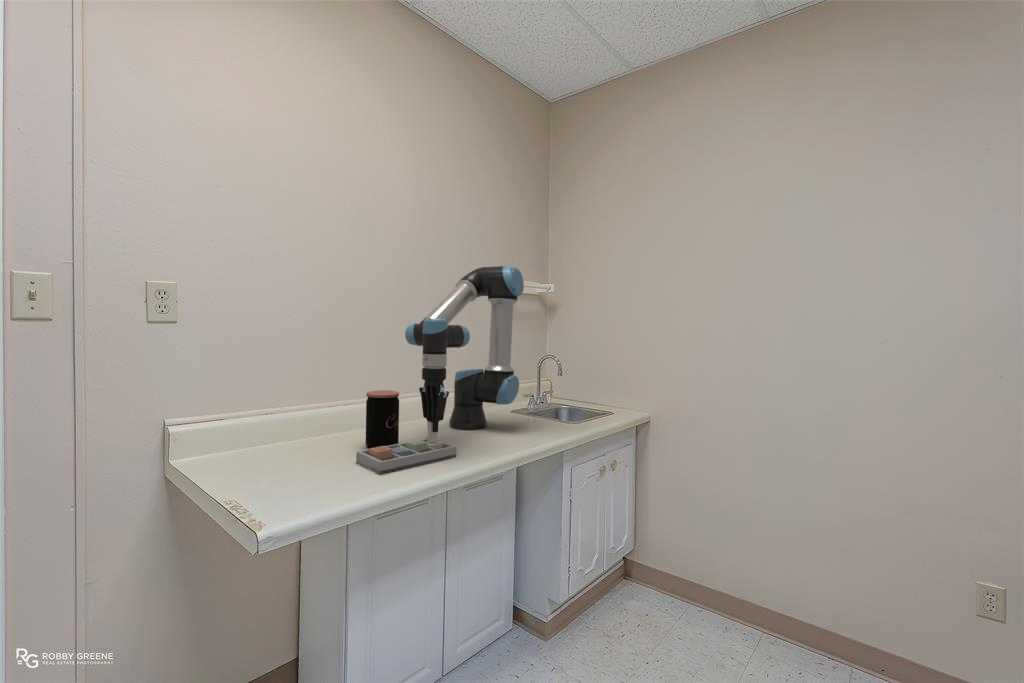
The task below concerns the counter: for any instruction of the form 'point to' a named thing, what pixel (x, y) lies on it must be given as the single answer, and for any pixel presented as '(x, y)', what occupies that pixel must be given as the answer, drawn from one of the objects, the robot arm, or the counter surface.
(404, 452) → the key slate
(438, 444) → the key ivory
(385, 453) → the key terracotta
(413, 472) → the counter surface
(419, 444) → the key sage
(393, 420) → the coffee jar
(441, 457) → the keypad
